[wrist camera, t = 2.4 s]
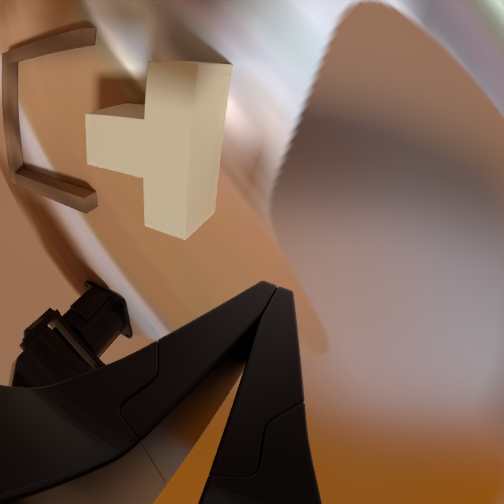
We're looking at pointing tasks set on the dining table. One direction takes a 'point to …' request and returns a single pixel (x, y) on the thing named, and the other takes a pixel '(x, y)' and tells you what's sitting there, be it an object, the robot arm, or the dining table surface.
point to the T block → (168, 142)
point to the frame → (19, 175)
